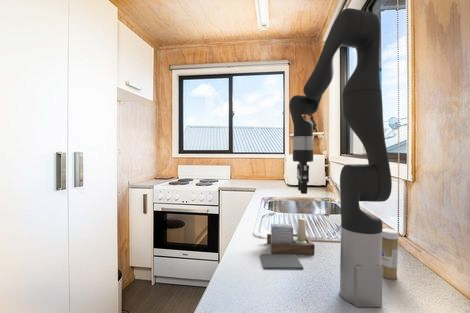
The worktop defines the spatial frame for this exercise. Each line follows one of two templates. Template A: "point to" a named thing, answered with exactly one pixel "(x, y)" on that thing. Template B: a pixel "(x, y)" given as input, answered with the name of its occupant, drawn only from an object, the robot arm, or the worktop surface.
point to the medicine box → (281, 233)
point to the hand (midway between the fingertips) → (302, 192)
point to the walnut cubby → (292, 247)
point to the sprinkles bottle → (389, 253)
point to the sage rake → (300, 231)
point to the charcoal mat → (281, 261)
